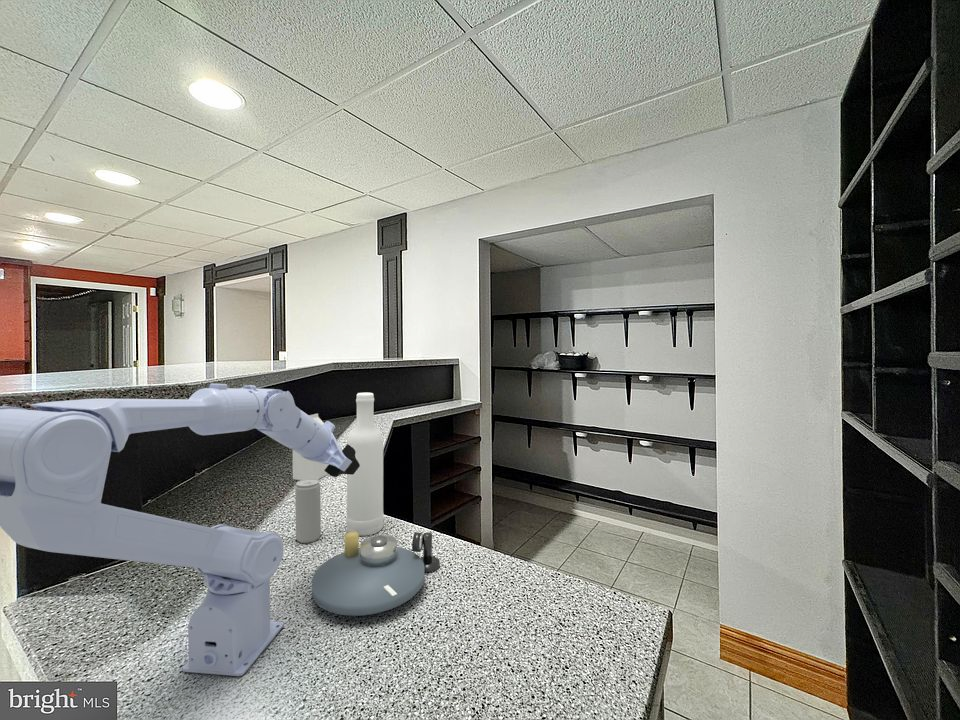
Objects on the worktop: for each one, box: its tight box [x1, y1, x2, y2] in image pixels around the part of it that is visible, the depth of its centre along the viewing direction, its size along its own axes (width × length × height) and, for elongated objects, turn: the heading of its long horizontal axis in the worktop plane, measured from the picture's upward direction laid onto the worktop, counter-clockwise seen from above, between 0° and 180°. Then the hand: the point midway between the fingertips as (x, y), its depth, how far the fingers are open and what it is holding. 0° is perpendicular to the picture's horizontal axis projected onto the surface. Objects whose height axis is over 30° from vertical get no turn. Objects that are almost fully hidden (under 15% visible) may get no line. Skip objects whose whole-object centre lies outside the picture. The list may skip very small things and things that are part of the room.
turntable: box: [311, 532, 425, 617], centre depth 69 cm, size 18×18×5 cm
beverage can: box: [294, 479, 322, 544], centre depth 87 cm, size 5×5×12 cm
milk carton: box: [292, 413, 329, 481], centre depth 126 cm, size 7×7×19 cm
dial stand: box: [411, 531, 441, 573], centre depth 76 cm, size 5×4×7 cm
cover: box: [359, 534, 398, 567], centre depth 74 cm, size 6×6×3 cm
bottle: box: [345, 392, 385, 537], centre depth 91 cm, size 8×8×30 cm
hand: (341, 458), depth 78 cm, fingers open, 7 cm apart
